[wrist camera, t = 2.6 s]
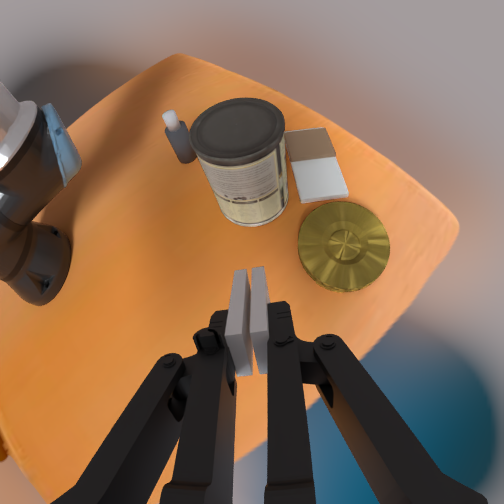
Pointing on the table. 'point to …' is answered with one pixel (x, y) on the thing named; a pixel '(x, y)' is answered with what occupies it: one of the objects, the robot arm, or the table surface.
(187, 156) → the grey white-capped bottle
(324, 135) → the white and brown box
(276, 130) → the coffee can
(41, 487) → the table surface
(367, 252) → the olive gold disc
